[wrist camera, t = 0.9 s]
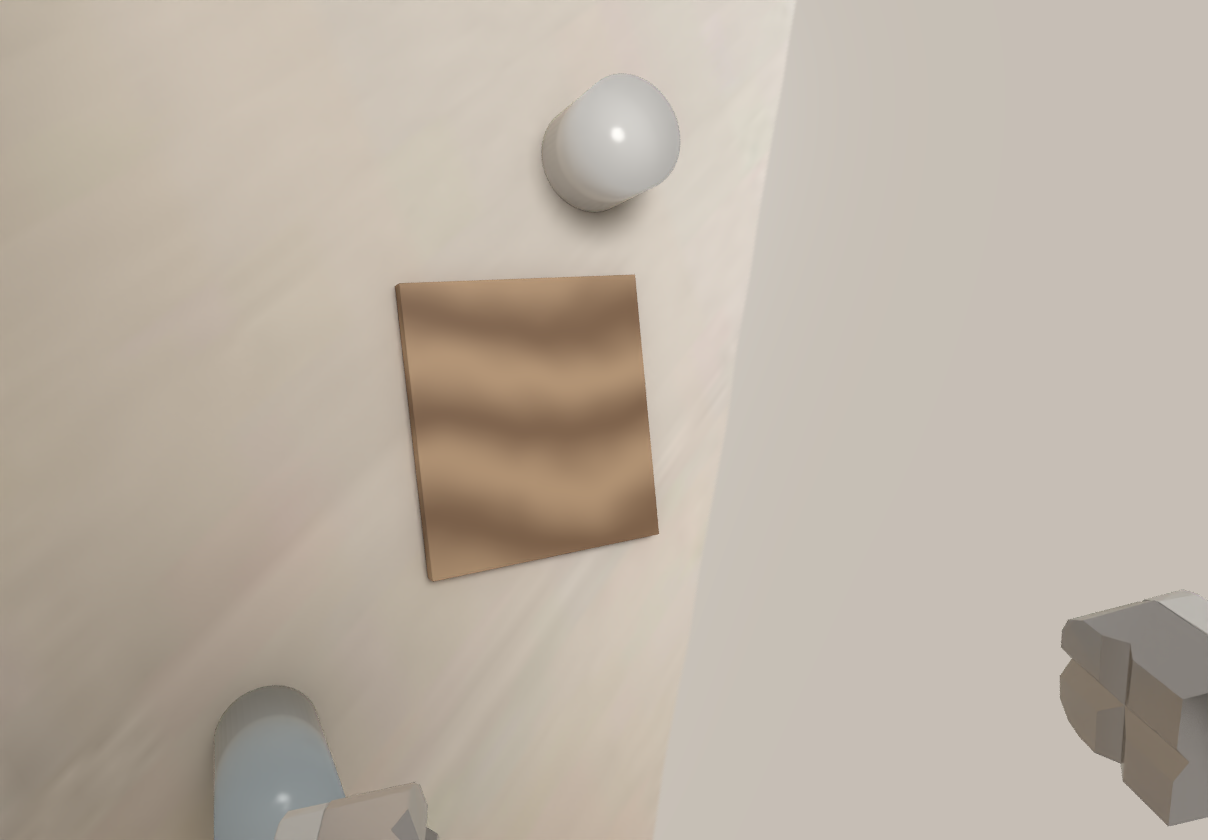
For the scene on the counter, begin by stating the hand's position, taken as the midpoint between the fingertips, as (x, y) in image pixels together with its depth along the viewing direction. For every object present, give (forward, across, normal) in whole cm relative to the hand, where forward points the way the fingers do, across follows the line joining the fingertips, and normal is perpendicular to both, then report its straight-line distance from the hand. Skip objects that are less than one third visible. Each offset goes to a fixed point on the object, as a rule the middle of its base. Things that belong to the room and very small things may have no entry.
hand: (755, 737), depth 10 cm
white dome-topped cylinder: (+48, -5, -5) cm, 48 cm away
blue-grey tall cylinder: (+31, +21, +22) cm, 43 cm away
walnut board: (+41, +2, +10) cm, 42 cm away
